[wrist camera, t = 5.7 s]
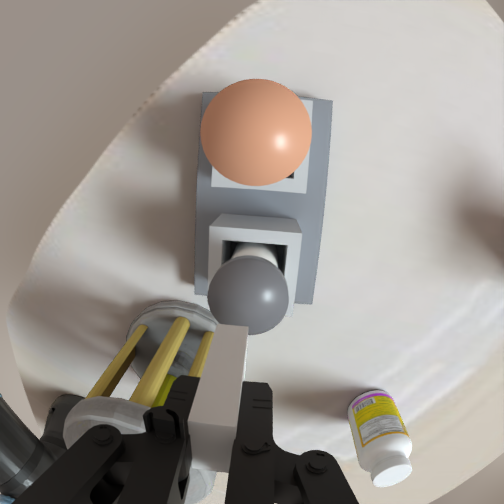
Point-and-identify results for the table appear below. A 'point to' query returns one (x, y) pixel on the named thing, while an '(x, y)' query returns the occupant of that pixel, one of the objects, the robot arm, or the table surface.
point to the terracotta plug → (256, 132)
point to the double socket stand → (266, 212)
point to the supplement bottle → (380, 438)
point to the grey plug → (249, 289)
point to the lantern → (150, 376)
